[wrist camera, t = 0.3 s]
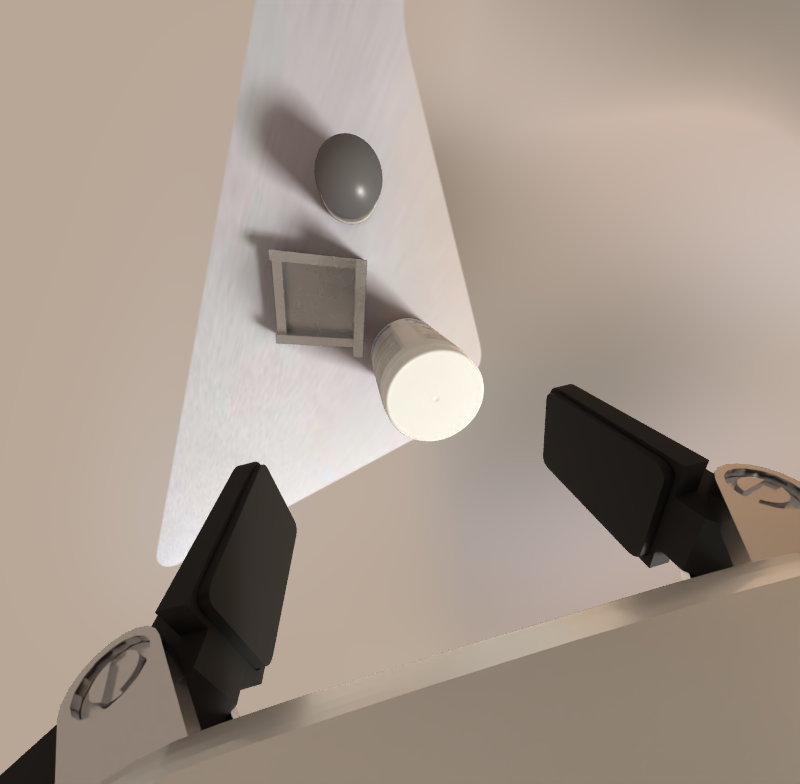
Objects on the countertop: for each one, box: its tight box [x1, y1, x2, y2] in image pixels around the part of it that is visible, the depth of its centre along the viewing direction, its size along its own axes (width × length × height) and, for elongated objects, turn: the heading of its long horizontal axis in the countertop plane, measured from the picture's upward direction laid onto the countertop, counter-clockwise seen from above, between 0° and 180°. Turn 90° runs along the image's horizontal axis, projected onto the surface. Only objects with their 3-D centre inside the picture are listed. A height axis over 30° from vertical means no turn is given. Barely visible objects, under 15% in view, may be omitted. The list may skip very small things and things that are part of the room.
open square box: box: [268, 249, 367, 358], centre depth 31 cm, size 10×10×7 cm
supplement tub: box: [371, 318, 484, 441], centre depth 32 cm, size 10×10×15 cm
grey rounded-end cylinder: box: [315, 133, 382, 224], centre depth 27 cm, size 6×6×7 cm
